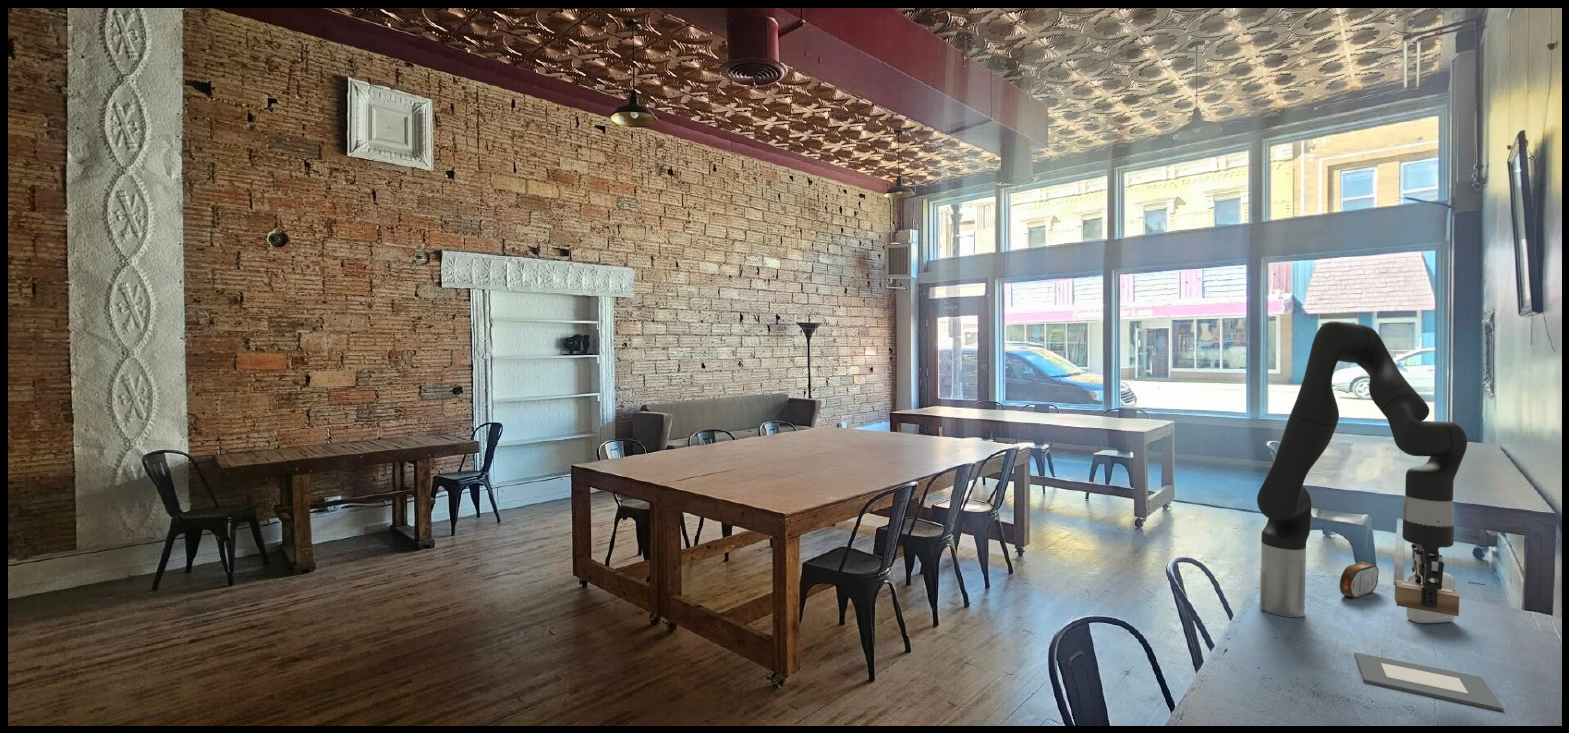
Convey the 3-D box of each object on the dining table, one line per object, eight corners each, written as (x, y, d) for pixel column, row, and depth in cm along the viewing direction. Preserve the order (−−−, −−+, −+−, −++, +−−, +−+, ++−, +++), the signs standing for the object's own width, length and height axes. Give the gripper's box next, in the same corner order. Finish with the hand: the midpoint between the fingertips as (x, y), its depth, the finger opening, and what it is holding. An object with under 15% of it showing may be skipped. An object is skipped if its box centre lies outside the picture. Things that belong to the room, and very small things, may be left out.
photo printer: (1438, 615, 170) (1439, 567, 169) (1457, 622, 166) (1459, 572, 165) (1402, 618, 168) (1404, 569, 168) (1421, 625, 164) (1422, 575, 164)
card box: (1458, 616, 133) (1459, 596, 133) (1397, 605, 138) (1397, 586, 138) (1454, 608, 137) (1455, 588, 137) (1394, 598, 142) (1395, 579, 142)
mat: (1363, 682, 138) (1364, 678, 138) (1354, 655, 150) (1354, 651, 150) (1503, 711, 127) (1503, 708, 127) (1481, 679, 138) (1481, 676, 138)
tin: (1366, 588, 188) (1367, 558, 188) (1380, 592, 185) (1381, 561, 185) (1337, 598, 182) (1338, 567, 181) (1351, 602, 179) (1352, 570, 178)
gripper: (1463, 531, 129) (1461, 618, 129) (1444, 514, 141) (1441, 594, 141) (1410, 525, 133) (1408, 610, 134) (1396, 509, 145) (1394, 587, 146)
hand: (1425, 601), depth 137 cm, fingers closed on card box, 5 cm apart
